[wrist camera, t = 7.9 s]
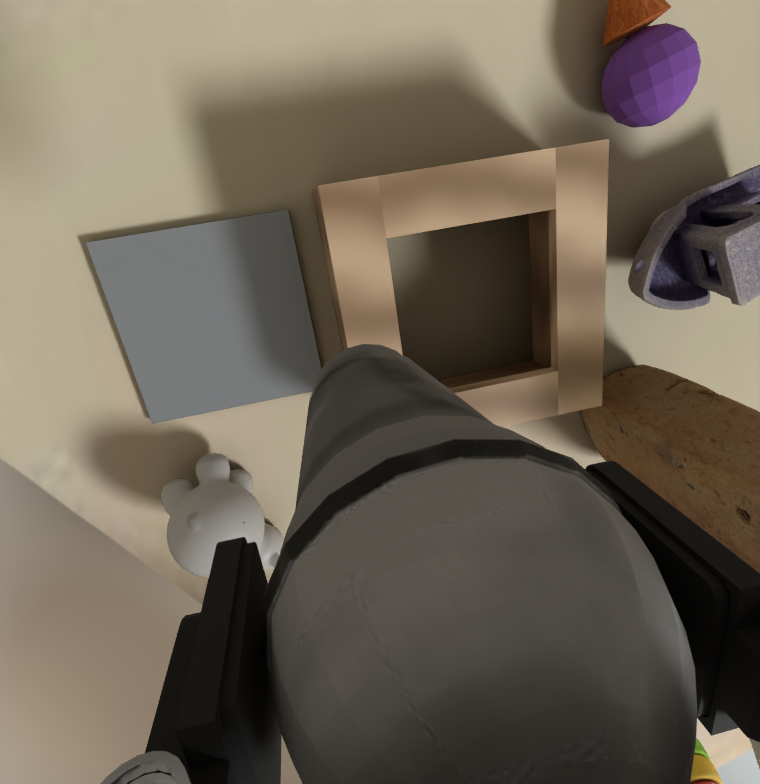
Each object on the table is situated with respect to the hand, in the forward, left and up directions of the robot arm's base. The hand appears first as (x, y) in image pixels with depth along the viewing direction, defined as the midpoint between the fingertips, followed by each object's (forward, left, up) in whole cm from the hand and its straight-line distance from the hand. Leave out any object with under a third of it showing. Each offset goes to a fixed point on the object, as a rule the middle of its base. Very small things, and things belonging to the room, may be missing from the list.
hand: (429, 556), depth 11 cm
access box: (0, -9, -30) cm, 31 cm away
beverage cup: (0, 0, -10) cm, 10 cm away
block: (-15, -25, -30) cm, 42 cm away
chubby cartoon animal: (-16, +12, -30) cm, 36 cm away
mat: (+1, +9, -30) cm, 31 cm away
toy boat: (+1, -29, -30) cm, 42 cm away
